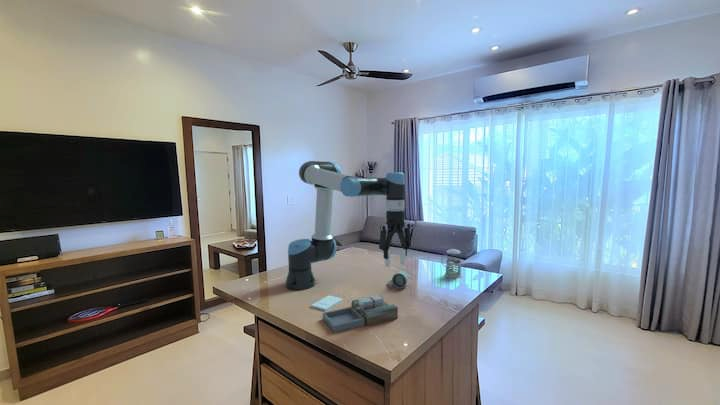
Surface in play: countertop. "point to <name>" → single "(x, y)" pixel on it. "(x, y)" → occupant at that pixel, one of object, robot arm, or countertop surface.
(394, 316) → the slot board
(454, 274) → the french press
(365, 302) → the aluminium chip
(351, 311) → the chip tray
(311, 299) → the countertop surface
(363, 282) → the countertop surface
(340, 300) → the external hard drive
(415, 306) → the countertop surface
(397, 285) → the ceramic mug
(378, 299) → the aluminium chip
